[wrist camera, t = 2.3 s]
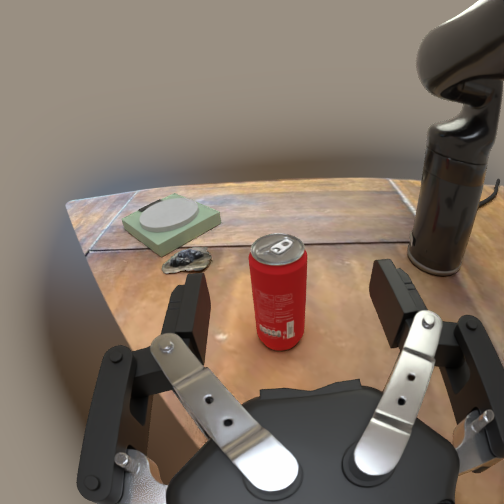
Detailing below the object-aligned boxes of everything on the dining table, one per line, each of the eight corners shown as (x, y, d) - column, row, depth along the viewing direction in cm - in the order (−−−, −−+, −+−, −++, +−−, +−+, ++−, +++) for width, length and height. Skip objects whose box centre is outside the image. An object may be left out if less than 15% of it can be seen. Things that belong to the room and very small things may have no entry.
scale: (176, 203, 64) (173, 188, 62) (221, 223, 55) (218, 206, 53) (124, 229, 57) (120, 214, 55) (161, 257, 48) (156, 239, 46)
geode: (217, 268, 45) (215, 258, 44) (164, 284, 43) (161, 274, 42) (205, 245, 50) (203, 235, 49) (158, 259, 48) (155, 249, 47)
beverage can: (248, 336, 34) (235, 249, 27) (279, 312, 37) (275, 225, 30) (281, 362, 31) (279, 274, 24) (313, 333, 33) (319, 245, 26)
